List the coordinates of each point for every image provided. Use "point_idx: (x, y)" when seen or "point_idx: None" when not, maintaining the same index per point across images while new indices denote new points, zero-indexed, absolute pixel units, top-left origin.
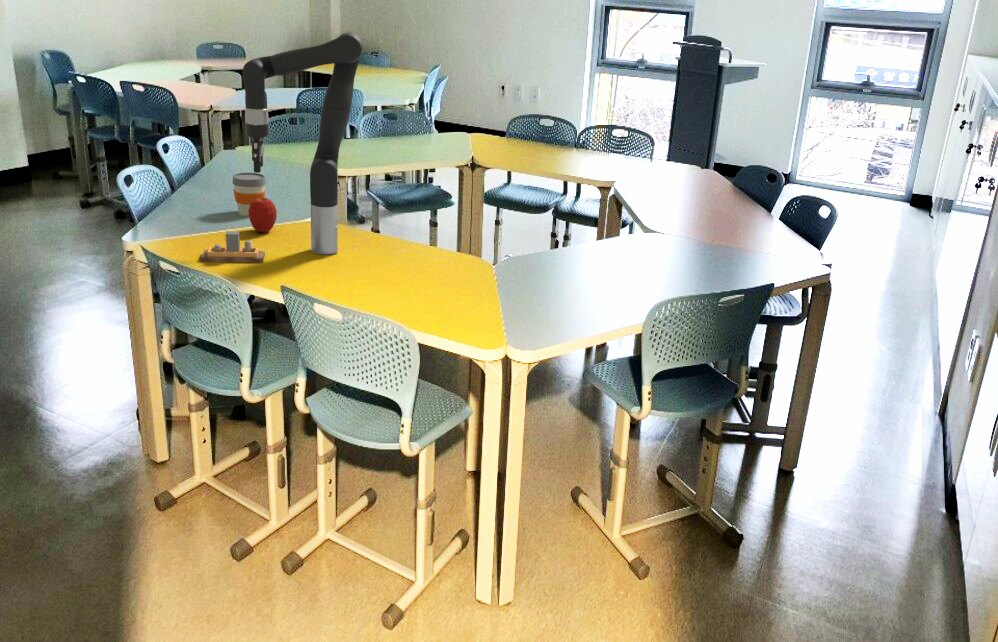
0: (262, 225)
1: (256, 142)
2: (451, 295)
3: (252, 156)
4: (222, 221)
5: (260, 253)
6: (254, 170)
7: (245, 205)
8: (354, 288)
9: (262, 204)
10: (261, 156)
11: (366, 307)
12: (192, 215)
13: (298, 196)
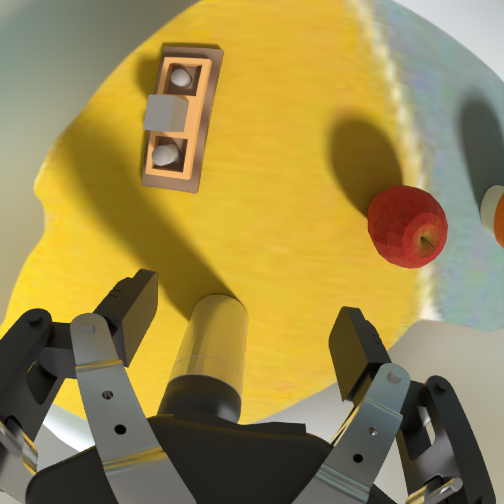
0: (368, 212)
1: (20, 501)
2: (65, 389)
3: (9, 334)
4: (465, 136)
5: (177, 181)
6: (137, 276)
7: (497, 201)
8: (52, 313)
9: (398, 235)
10: (347, 394)
11: (12, 306)
12: (497, 93)
13: None
